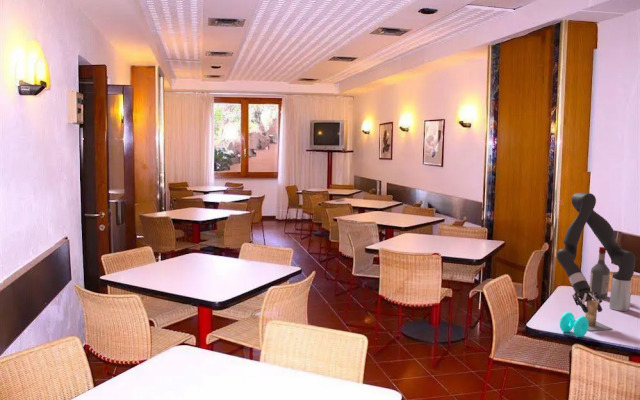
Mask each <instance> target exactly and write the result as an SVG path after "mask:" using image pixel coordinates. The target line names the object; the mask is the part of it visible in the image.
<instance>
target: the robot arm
mask: <svg viewBox="0 0 640 400" xmlns="http://www.w3.org/2000/svg"><path fill="white" fill-rule="evenodd" d="M596 203H597V199H596V196H595V195H594V194H593V193H590V192H576V193H573V195H572V196H571V205H572V207H573V209H575V210H576V212H577V213H578V215H577V216H576V218H575V219H574V220H573V222H572V223H571V224H570V225H569V226H568V228H567V230H566V232H565V235H564V238H563V244H564V248H560V249H558V251H557V252H556V259H557V261H558V263H559V264H560V266H561V267H562V268H563V269H564V271H565V273H566V275H567V277H568V280H569V282H570V285H571V286H572V288H573V290H574V293H573V294H572V295H571V296H572V298H573V301H574V303H575V305H576V306H580V308H581V309H582V311H583V313H584V314H586V313H587V312H588V309H587V307H586V305H587V304H585V303H587V300H594V301H597V302H598V308H597V313H601V312H602V311H603V308H602V306H601V303H603V299H601V298H600V296H599V295H598V293H597V292H595V293H592V292H591V291H590V286H589V285H590V283H588V281H587V279H586V277H585V275H584V273H583V271H582V270H581V268H580V266H579V265H578V264H577V263H576V262H575V260H576V257H577V250H578V244H579V241H580V237H581V235H582V233H583V230H584V228H585V225H586V224H587V226H589V228H590V229H591V231H592V232H593V234H594V236H595V237H596V238H597V239H598V241H599V243H601V245H602V247H604V248H605V249H606V252H607V254H608V257H609V258H610V260H611V262H612V263H613V264H614V265H616V266H618V270H617V271H614V272H612V278H611V287H610V288H611V289H610V296H609V297H610V298H609V305H608V306H609V309H612V310H615V311H619V312H628V311H629V310H630V307H631V296H632V293H631V287H632V286H631V284H632V277H633V276H634V273H635V267H636V256H635V253H633V252H632V251H628V250H624V249H623V248H622V247H621V246H620V245H619V244H618V242H617V241H616V234H615V230H614V229H613V227H612V226H611V224H610V223H609V221H608V220H607V219H605V218H604V217H603V216H601V215H600V214H599V213H598V212H596V211H595V210H594V208H595V207H596V205H597V204H596Z"/></svg>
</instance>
